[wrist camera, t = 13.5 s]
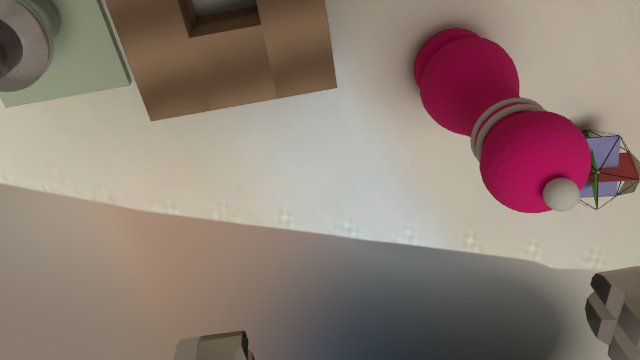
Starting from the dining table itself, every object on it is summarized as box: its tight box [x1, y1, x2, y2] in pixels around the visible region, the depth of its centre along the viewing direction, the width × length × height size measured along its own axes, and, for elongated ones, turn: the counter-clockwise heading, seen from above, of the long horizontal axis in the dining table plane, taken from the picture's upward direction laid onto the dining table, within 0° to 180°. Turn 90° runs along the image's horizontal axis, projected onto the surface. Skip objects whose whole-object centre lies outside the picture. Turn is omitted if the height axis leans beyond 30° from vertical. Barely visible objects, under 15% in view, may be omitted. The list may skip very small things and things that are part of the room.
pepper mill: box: [414, 29, 591, 213], centre depth 34 cm, size 7×7×20 cm
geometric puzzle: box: [578, 128, 640, 211], centre depth 46 cm, size 7×7×8 cm
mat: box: [0, 0, 132, 108], centre depth 37 cm, size 13×10×1 cm
